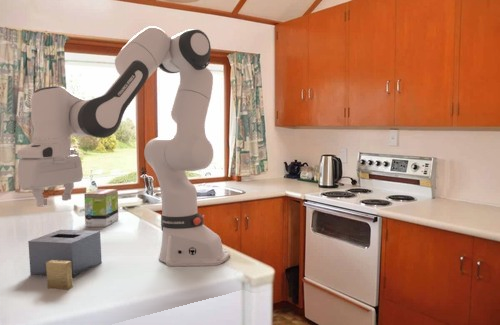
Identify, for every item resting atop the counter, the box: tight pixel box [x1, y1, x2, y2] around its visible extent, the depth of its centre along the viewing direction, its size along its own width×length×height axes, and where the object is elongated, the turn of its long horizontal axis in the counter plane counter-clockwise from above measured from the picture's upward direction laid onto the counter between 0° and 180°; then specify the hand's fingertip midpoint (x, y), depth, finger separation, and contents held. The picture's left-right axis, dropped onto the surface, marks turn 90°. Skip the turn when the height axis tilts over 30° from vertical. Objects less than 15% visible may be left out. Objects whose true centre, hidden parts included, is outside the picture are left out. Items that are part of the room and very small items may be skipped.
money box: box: [27, 229, 102, 279], centre depth 125 cm, size 14×14×10 cm
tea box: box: [84, 188, 119, 228], centre depth 187 cm, size 15×10×15 cm
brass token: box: [46, 260, 74, 291], centre depth 109 cm, size 6×2×7 cm, turn 78°
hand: (54, 203), depth 108 cm, fingers open, 8 cm apart
